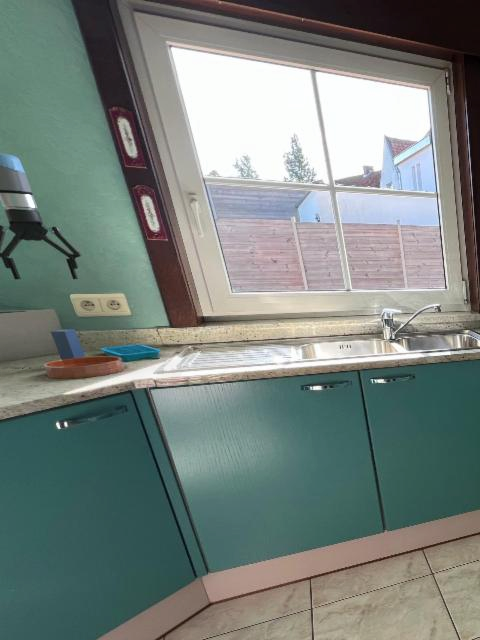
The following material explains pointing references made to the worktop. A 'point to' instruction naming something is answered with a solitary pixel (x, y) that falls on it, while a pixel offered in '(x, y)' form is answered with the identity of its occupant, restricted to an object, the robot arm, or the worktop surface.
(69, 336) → the block
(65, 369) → the bowl
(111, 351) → the ice cube tray
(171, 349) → the worktop surface
